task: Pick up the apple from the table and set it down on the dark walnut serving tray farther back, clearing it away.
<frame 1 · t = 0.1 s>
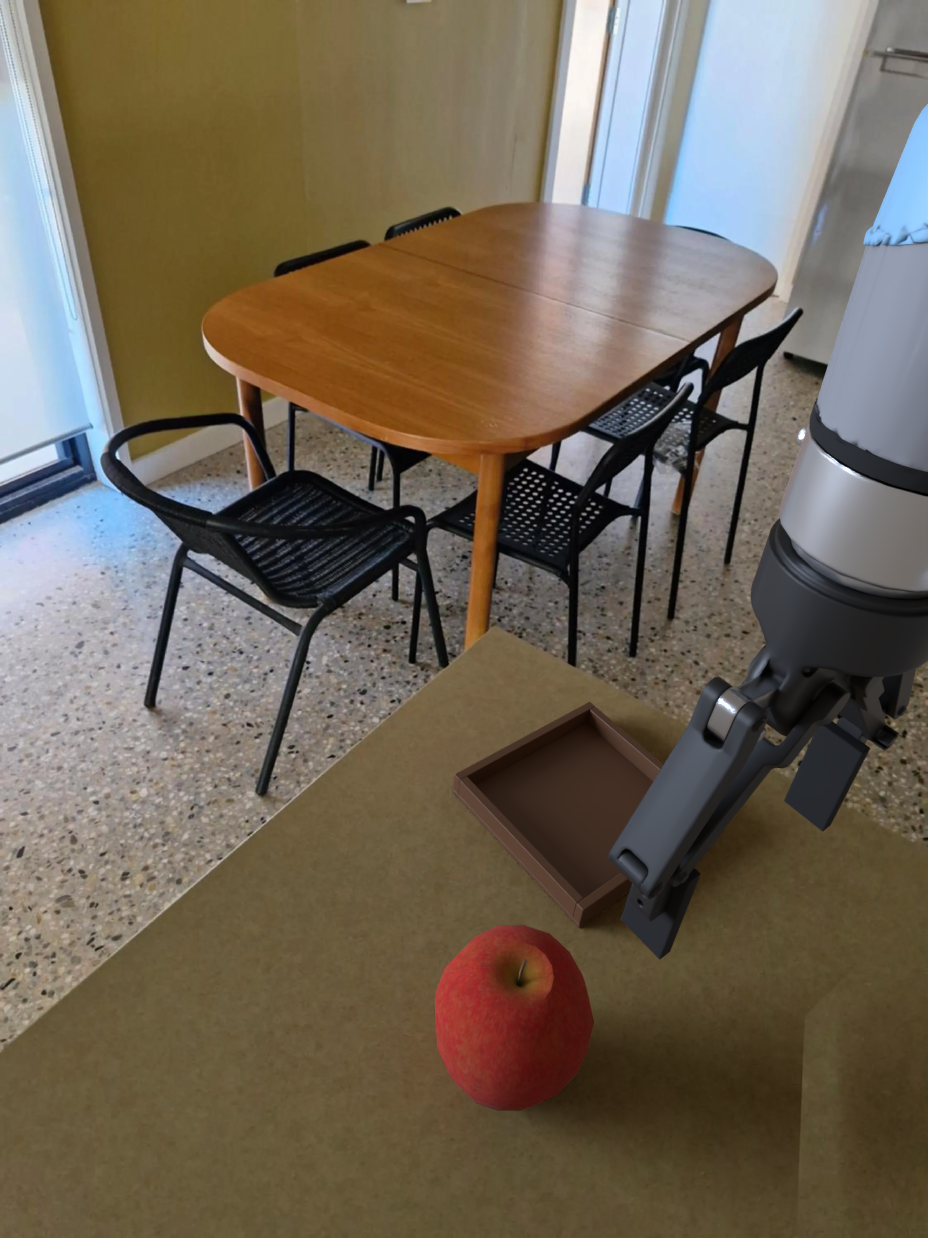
hand: (731, 870, 48), 23 cm above the counter, tool pointing down, fingers open, 13 cm apart
apple: (501, 1068, 61), on the counter
tray: (582, 812, 79), on the counter
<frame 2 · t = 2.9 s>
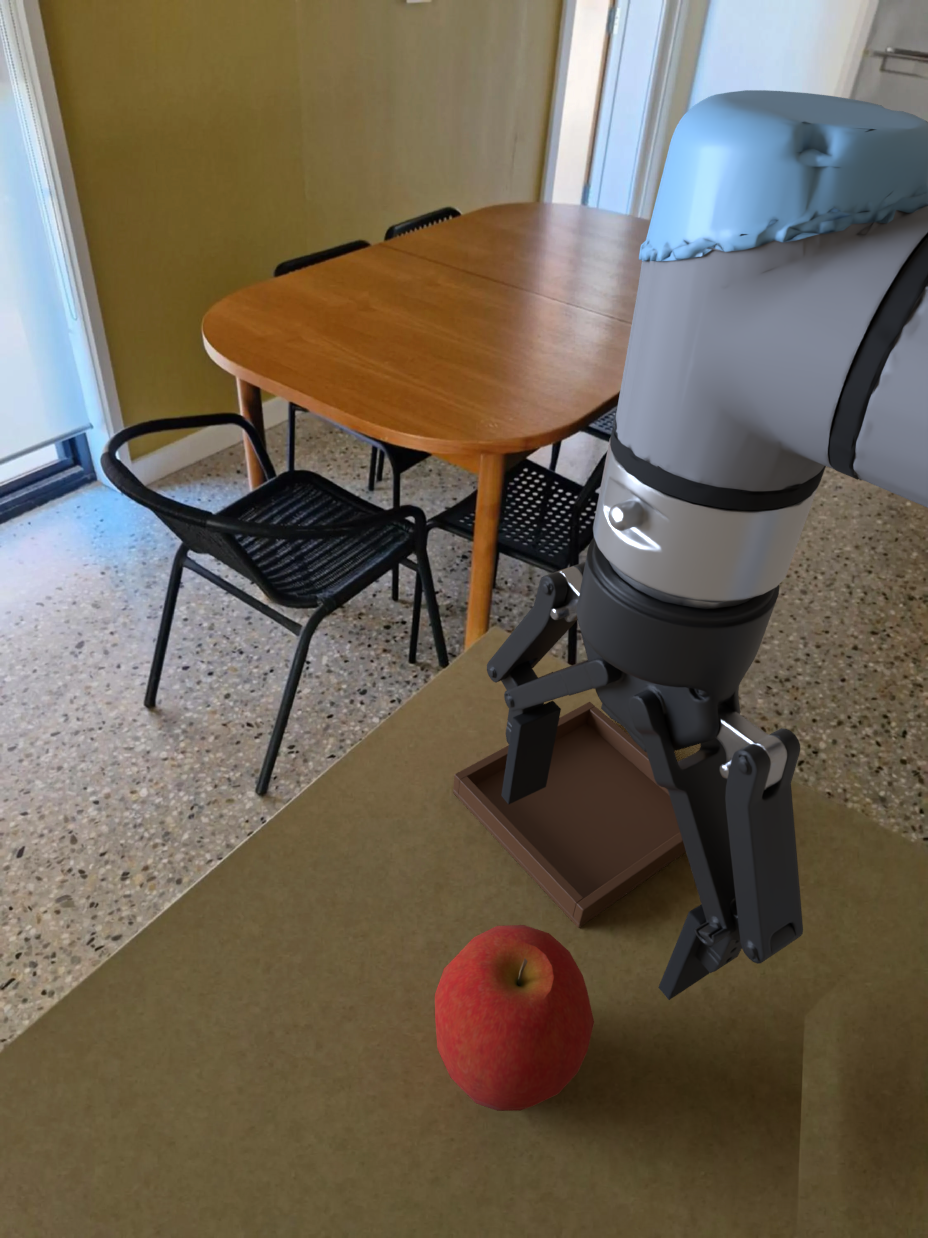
hand: (596, 878, 48), 22 cm above the counter, tool pointing down, fingers open, 13 cm apart
nothing on the counter moved.
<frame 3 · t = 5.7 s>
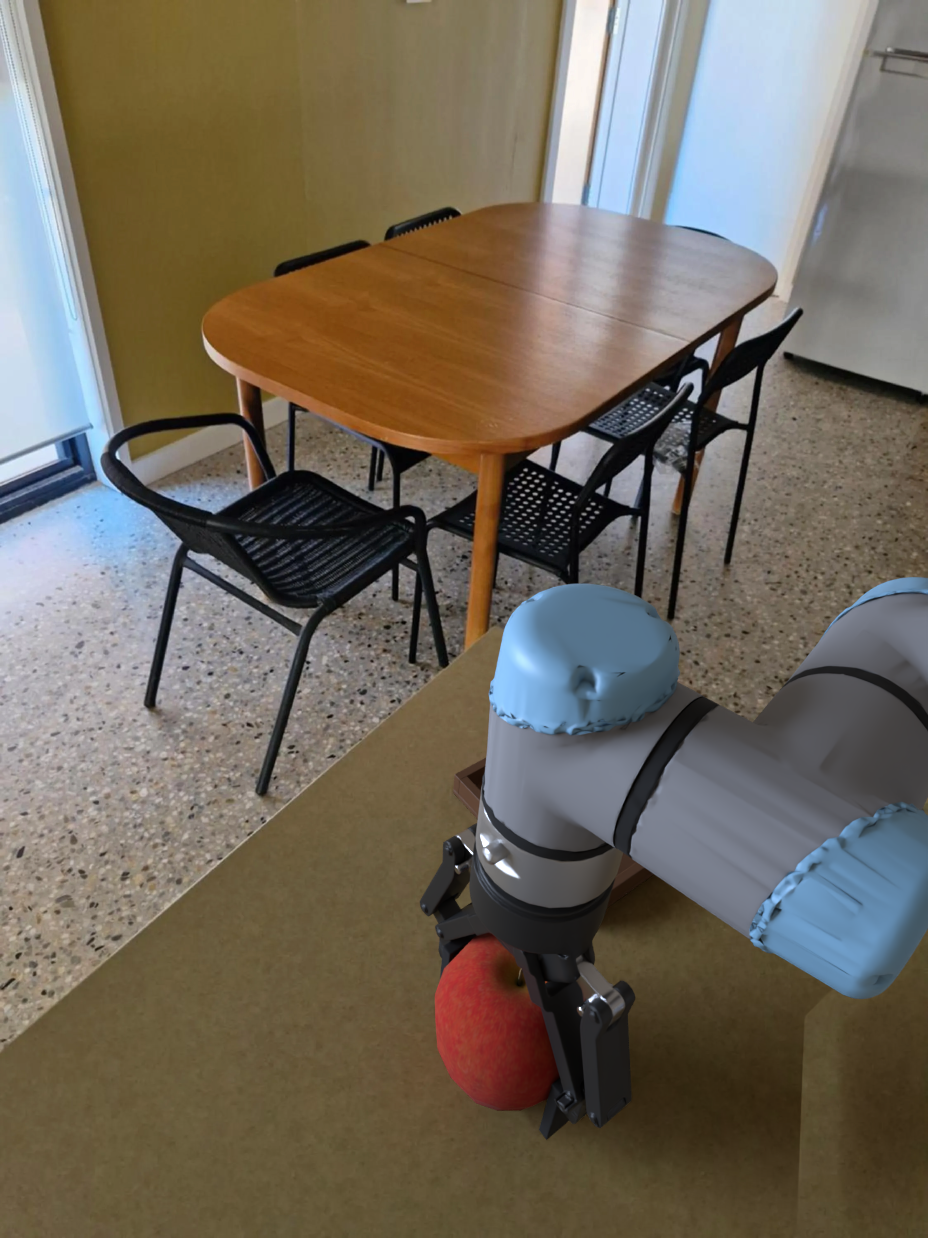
hand: (504, 1052, 60), 2 cm above the counter, tool pointing down, fingers closed on apple, 10 cm apart
apple: (501, 1068, 61), on the counter, touching gripper
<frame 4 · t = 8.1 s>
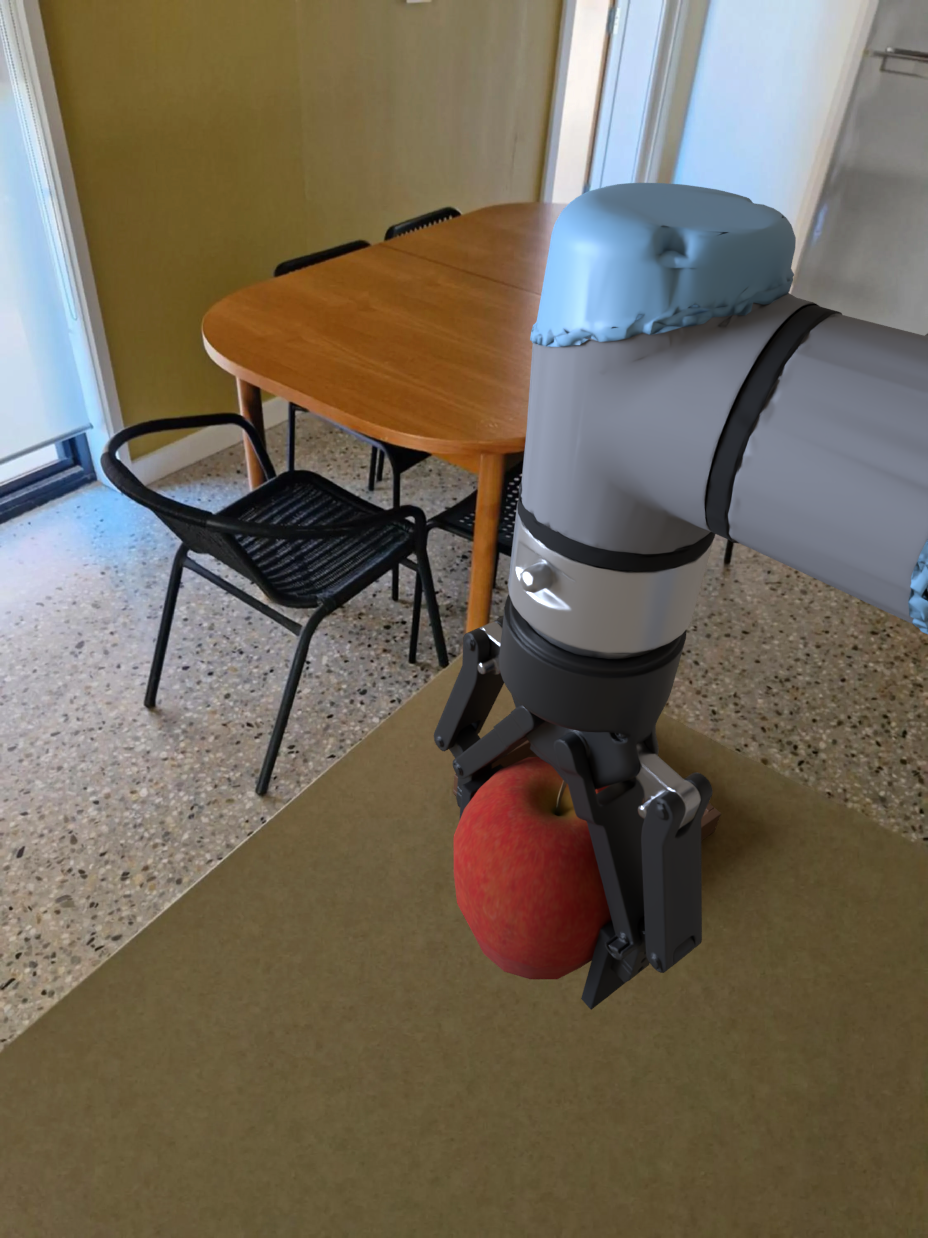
hand: (536, 916, 50), 18 cm above the counter, tool pointing down, fingers closed on apple, 10 cm apart
apple: (532, 939, 52), point 16 cm above the counter, touching gripper
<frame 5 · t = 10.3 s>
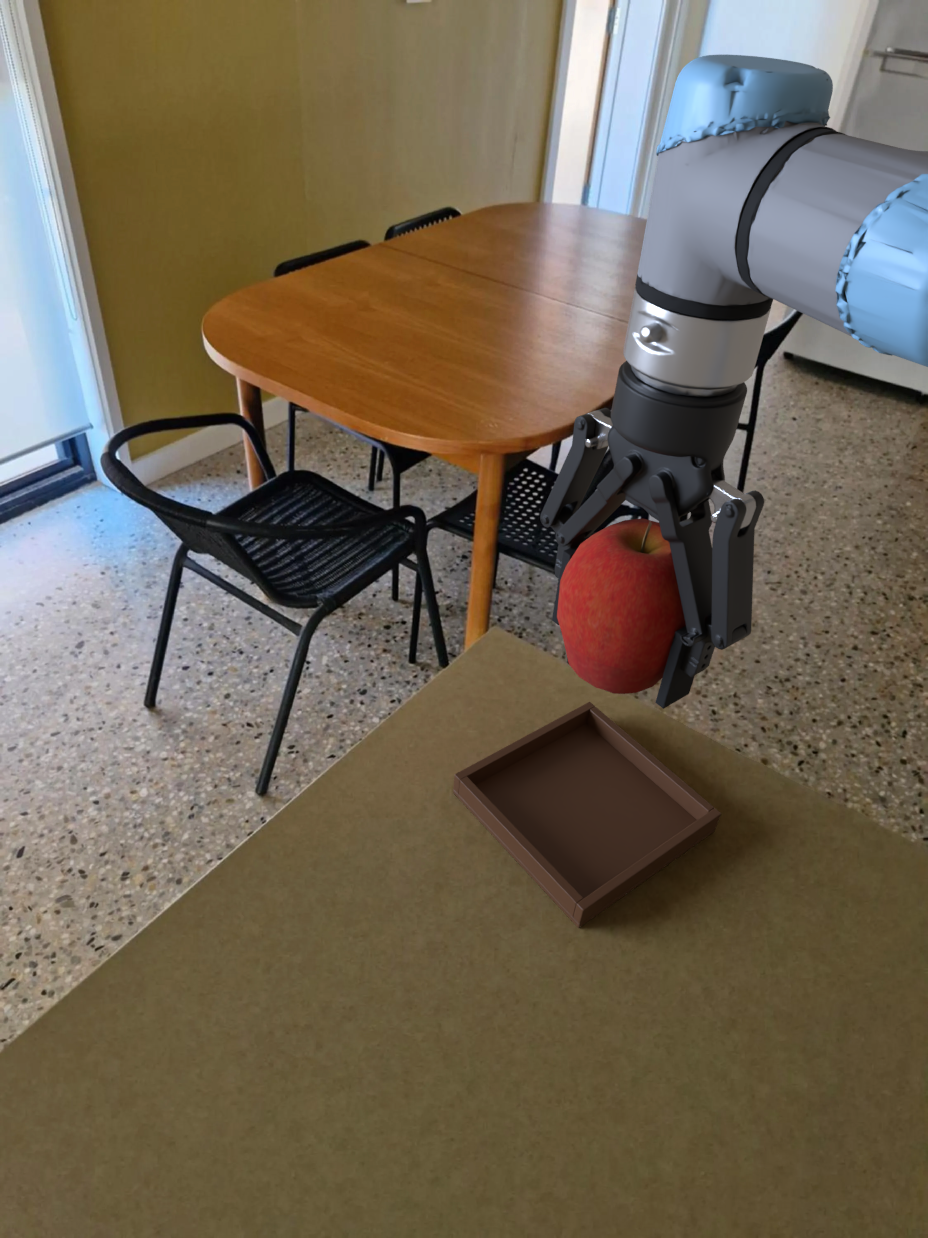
hand: (617, 655, 66), 20 cm above the counter, tool pointing down, fingers closed on apple, 10 cm apart
apple: (612, 678, 67), point 17 cm above the counter, touching gripper
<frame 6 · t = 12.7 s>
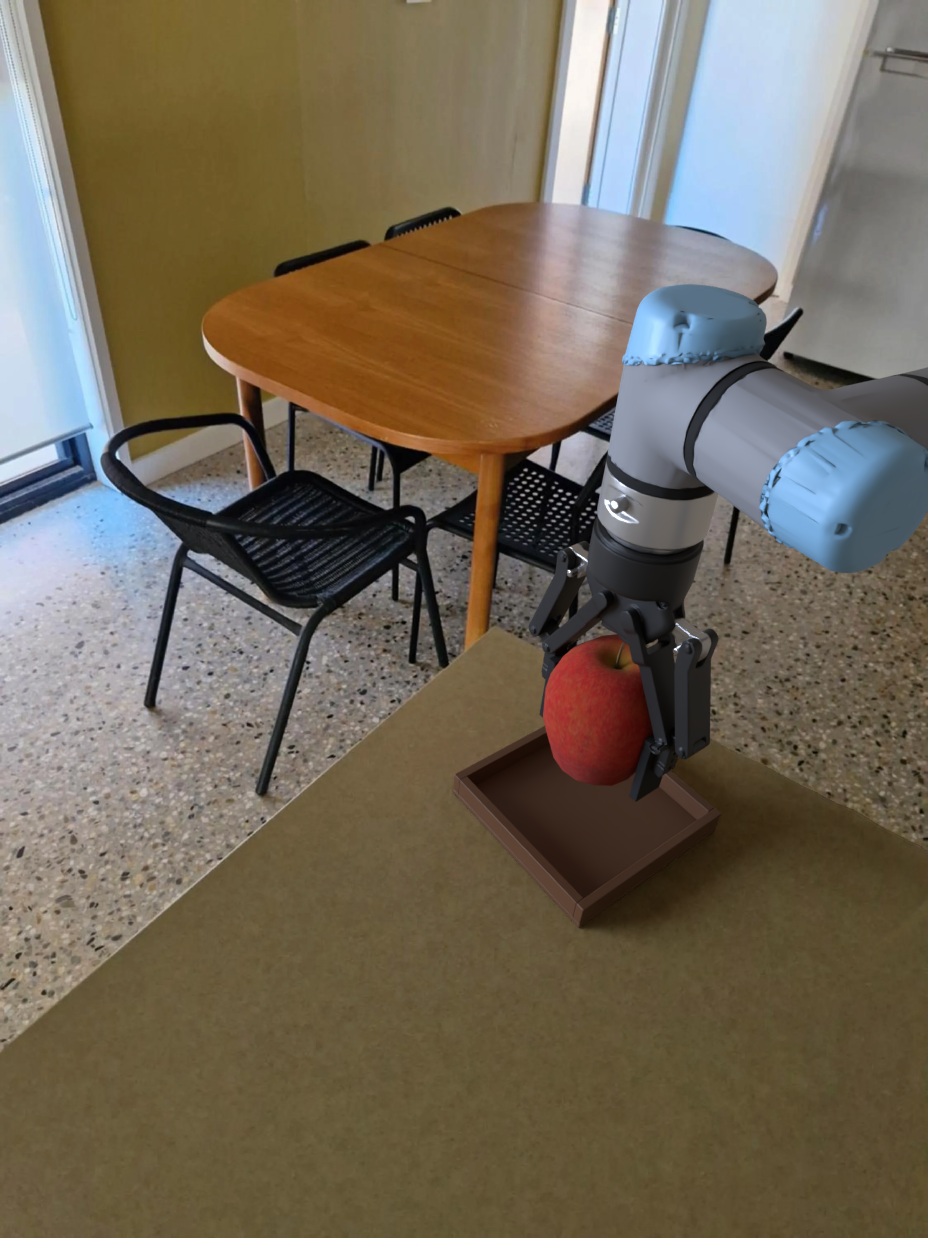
hand: (596, 749, 74), 8 cm above the counter, tool pointing down, fingers closed on apple, 10 cm apart
apple: (592, 768, 75), point 6 cm above the counter, touching gripper
when the fingers open (3 cm above the counter, at t = 14.8 s): apple stays where it is, resting on tray.
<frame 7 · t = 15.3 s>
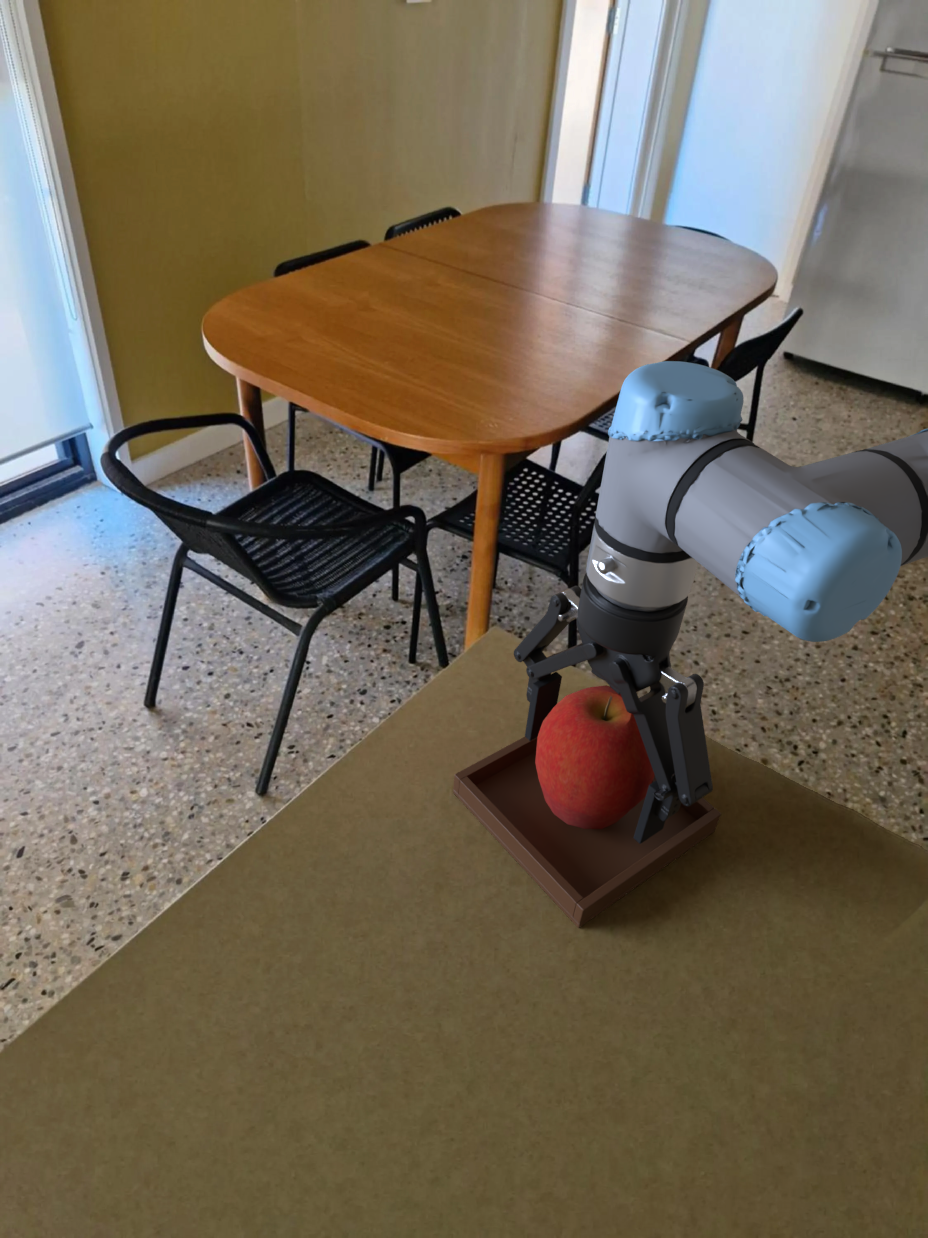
hand: (590, 780, 76), 4 cm above the counter, tool pointing down, fingers open, 13 cm apart
apple: (583, 810, 79), resting on tray
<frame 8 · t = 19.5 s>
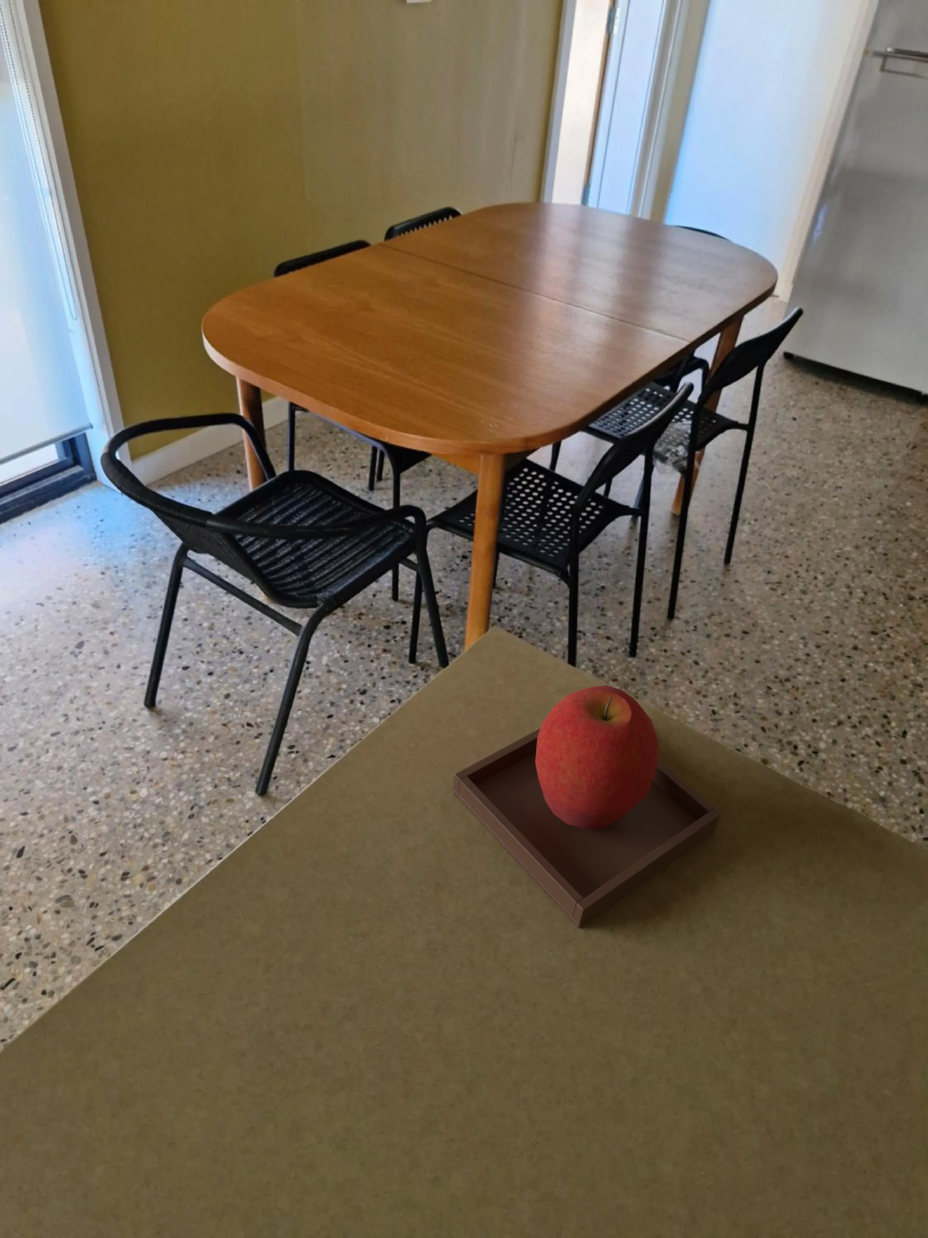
nothing on the counter moved.
at the end: apple inside the target area in the tray (0.0 cm from its centre), point 0.3 cm above the tray's base; the gripper is holding nothing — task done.
